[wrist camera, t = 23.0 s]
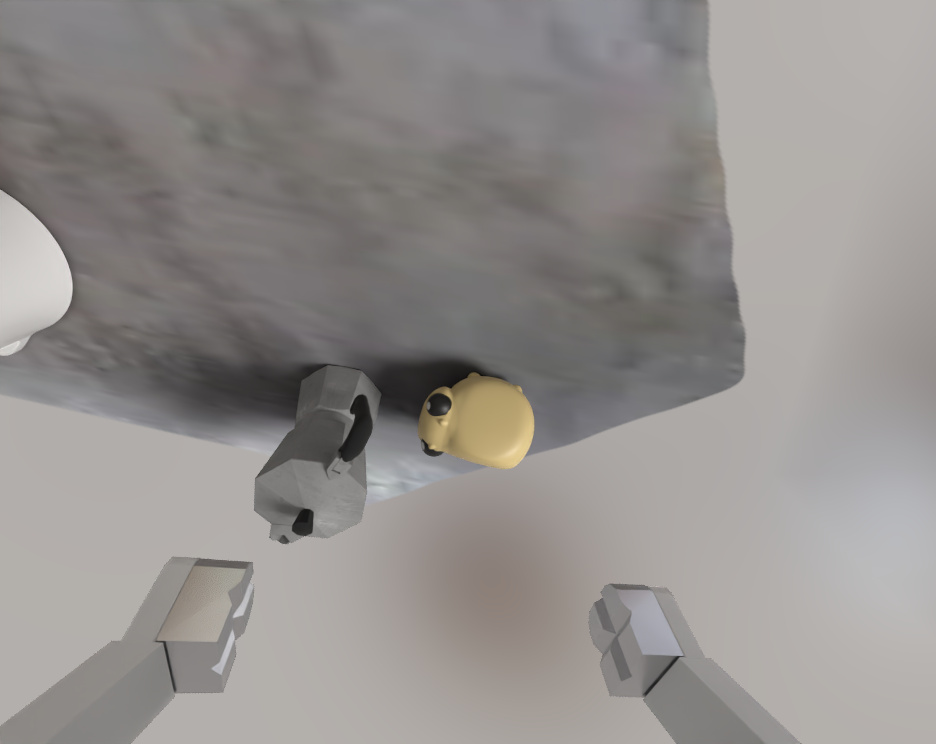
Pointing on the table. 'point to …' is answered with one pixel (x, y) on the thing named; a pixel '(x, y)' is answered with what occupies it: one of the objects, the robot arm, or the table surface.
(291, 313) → the table surface
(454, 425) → the yellow toy figurine
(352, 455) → the coffeepot
